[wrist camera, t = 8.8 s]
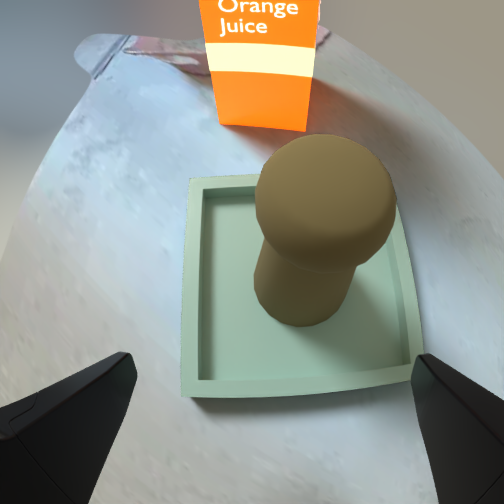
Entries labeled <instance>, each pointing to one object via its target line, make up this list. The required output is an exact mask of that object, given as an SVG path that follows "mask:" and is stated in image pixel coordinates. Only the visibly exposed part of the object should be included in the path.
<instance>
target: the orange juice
mask: <svg viewBox="0 0 504 504" xmlns="http://www.w3.org/2000/svg"><path fill="white" fill-rule="evenodd" d="M199 4H200V10H201V17H202V23H203V29H204V35H205V41H206V43H205V45H206V51H207V57H208V63H209V69H210V71H211V77H212V82H213V88H214V94H215V100H216V106H217V111H218V117H219V123H220V124H228V125H243V126H256V127H268V128H278V129H287V130H296V131H304V132H305V130H306V122H307V114H308V105H309V97H310V88H311V79H312V75H313V65H314V56H315V40H316V29H317V17H318V6H319V0H199ZM318 29H319V28H318Z"/></svg>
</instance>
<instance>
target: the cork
mask: <svg viewBox="0 0 504 504" xmlns="http://www.w3.org/2000/svg"><path fill="white" fill-rule="evenodd" d="M396 202H397V198H396V194H395V191H394V187H393V184H392V181H391V178H390V175H389V173H388V172H387V170H386V169H385V167H384V166H383V164H382V163H381V161H380V160H379V159H378V158H377V157H376V156H375V155H374V154H373V153H372V152H370V151H369V150H368V149H367V148H366V147H364V146H362V145H360V144H358V143H356V142H354V141H352V140H350V139H348V138H344V137H340V136H336V135H332V134H311V135H307V136H303V137H299V138H296V139H294V140H292V141H291V142H289V143H287V144H286V145H284V146H282V147H281V148H279V149H278V150H277V151H275V152H274V154H273V155H272V156H271V157H270V158H269V160H268V161H267V162H266V163H265V164H264V166H263V169H262V171H261V174H260V177H259V180H258V182H257V185H256V188H255V209H256V219H257V221H258V223H259V226H260V228H261V230H262V233H263V235H264V240H263V244H262V247H261V251H260V254H259V258H258V261H257V264H256V268H255V271H254V275H253V276H254V291H255V293H256V296H257V299H258V301H259V303H260V305H261V306H262V307H263V308H264V310H265V311H266V312H267V313H268V314H269V315H270V316H271V317H273V318H275V319H276V320H278V321H279V322H281V323H283V324H287V325H291V326H295V327H307V326H314V325H317V324H319V323H321V322H324V321H326V320H328V319H329V318H330V317H331V316H332V315H333V314H335V313H336V312H337V311H338V310H339V308H340V306H341V304H342V303H343V301H344V299H345V297H346V294H347V292H348V289H349V287H350V284H351V281H352V279H353V276H354V273H355V270H356V268H357V266H359V265H361V264H364V263H366V262H367V261H368V260H369V259H370V258H371V257H372V256H373V255H374V254H375V253H377V252H378V251H379V250H380V249H381V248H382V246H383V245H384V244H385V243H386V241H387V239H388V236H389V234H390V232H391V230H392V228H393V226H394V222H395V217H396Z"/></svg>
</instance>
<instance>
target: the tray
mask: <svg viewBox="0 0 504 504" xmlns="http://www.w3.org/2000/svg"><path fill="white" fill-rule="evenodd" d="M259 177H260V174H248V175H230V176H214V177H201V178H190V181H189V192H188V203H187V216H186V230H185V245H184V262H183V284H182V312H181V397H210V398H248V397H277V396H294V395H307V394H318V393H329V392H338V391H346V390H354V389H361V388H368V387H375V386H381V385H387V384H393V383H398V382H404V381H409V380H411V373H412V370H413V366H414V363H415V359H416V357H417V355H419V354H424V349H423V339H422V331H421V323H420V315H419V308H418V302H417V295H416V289H415V284H414V278H413V273H412V267H411V262H410V257H409V253H408V248H407V243H406V239H405V235H404V230H403V226H402V222H401V218H400V214H399V210H398V207H397V203H396V217H395V222H394V226H393V228H392V230H391V232H390V234H389V236H388V239H387V241H386V243H385V244H384V245H383V246H382V248H381V249H380V250H379V251H378V252H377V253H375V254H374V255H373V256H372V257H371V258H370V259H369V260H368V261H367V262H366V263H364V264H361V265H359V266H357V268H356V270H355V273H354V276H353V279H352V281H351V284H350V287H349V289H348V292H347V294H346V297H345V299H344V301H343V303H342V304H341V306H340V308H339V310H338V311H337V312H336V313H335V314H333V315H332V316H331V317H330V318H329V319H328V320H326V321H324V322H321V323H319V324H317V325H314V326H307V327H295V326H291V325H287V324H283V323H281V322H279V321H278V320H276V319H275V318H273V317H271V316H270V315H269V314H268V313H267V312H266V311H265V310H264V308H263V307H262V306H261V305H260V303H259V301H258V299H257V296H256V293H255V291H254V276H253V275H254V271H255V268H256V264H257V261H258V258H259V254H260V251H261V247H262V244H263V240H264V235H263V233H262V230H261V228H260V226H259V223H258V221H257V219H256V209H255V188H256V185H257V182H258V180H259Z"/></svg>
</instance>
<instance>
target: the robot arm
mask: <svg viewBox="0 0 504 504" xmlns="http://www.w3.org/2000/svg"><path fill="white" fill-rule="evenodd" d="M136 381H137V370H136V367H135V364H134V361H133V357H132V355H131V354H130V353H127V352H117V353H115V354H113V355H111V356H109V357H107V358H105V359H103V360H101V361H99V362H97V363H95V364H93V365H91V366H89V367H87V368H85V369H83V370H81V371H79V372H77V373H75V374H73V375H71V376H69V377H67V378H65V379H63V380H61V381H59V382H57V383H55V384H53V385H51V386H49V387H46V388H44V389H42V390H40V391H39V392H36V393H34V394H32V395H30V396H28V397H25V398H23V399H21V400H19V401H16V402H14V403H11V404H9V405H6V406H3V407H1V408H0V504H88V503H89V500H90V498H91V495H92V493H93V490H94V488H95V485H96V483H97V480H98V478H99V475H100V473H101V471H102V468H103V466H104V463H105V461H106V459H107V456H108V454H109V452H110V449H111V447H112V445H113V442H114V440H115V438H116V435H117V433H118V431H119V429H120V426H121V424H122V422H123V419H124V417H125V415H126V412H127V409H128V406H129V402H130V399H131V396H132V393H133V390H134V387H135V384H136ZM411 385H412V390H413V395H414V401H415V406H416V412H417V417H418V422H419V426H420V430H421V433H422V437H423V440H424V444H425V447H426V451H427V455H428V459H429V462H430V466H431V470H432V475H433V479H434V483H435V487H436V492H437V496H438V501H439V504H504V400H502V399H501V398H499V397H498V396H496V395H495V394H493V393H491V392H490V391H488V390H487V389H485V388H484V387H482V386H480V385H479V384H477V383H476V382H474V381H472V380H471V379H469V378H468V377H466V376H465V375H463V374H461V373H460V372H458V371H457V370H455V369H454V368H452V367H450V366H449V365H447V364H446V363H444V362H442V361H441V360H439V359H438V358H436V357H435V356H433V355H431V354H429V353H426V354H419V355H417V357H416V359H415V363H414V366H413V370H412V373H411Z"/></svg>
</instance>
